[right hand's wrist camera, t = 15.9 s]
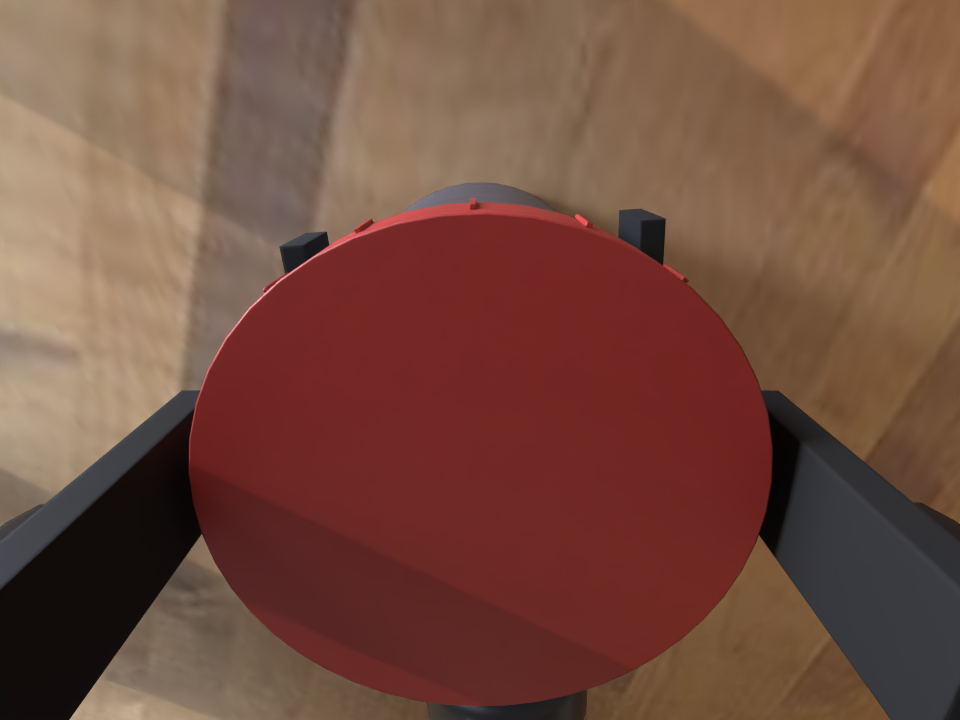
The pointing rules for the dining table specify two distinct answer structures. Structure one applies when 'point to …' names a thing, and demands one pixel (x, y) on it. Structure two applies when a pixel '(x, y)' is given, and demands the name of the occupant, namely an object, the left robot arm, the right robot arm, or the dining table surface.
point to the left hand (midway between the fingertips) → (471, 226)
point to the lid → (480, 456)
